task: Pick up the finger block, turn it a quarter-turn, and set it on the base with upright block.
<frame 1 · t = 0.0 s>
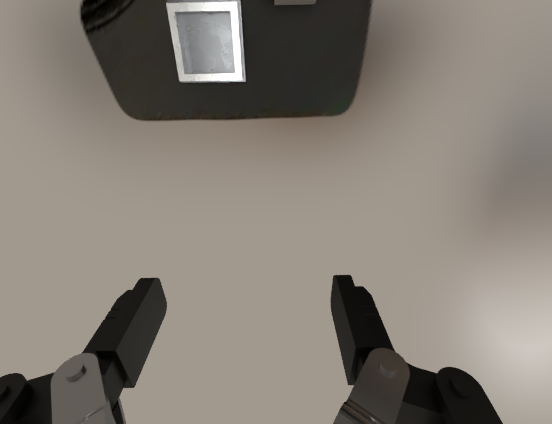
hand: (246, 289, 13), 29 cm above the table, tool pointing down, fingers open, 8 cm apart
base with upright block: (206, 3, 31), on the table
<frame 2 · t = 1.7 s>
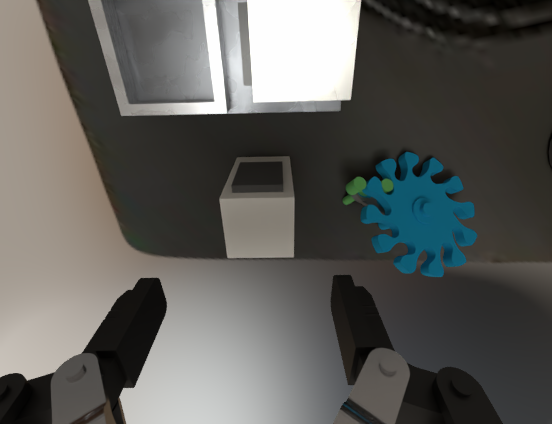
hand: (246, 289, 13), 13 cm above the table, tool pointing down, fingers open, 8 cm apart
finger block: (264, 181, 24), on the table
gear: (394, 189, 25), on the table
base with upright block: (230, 52, 19), on the table
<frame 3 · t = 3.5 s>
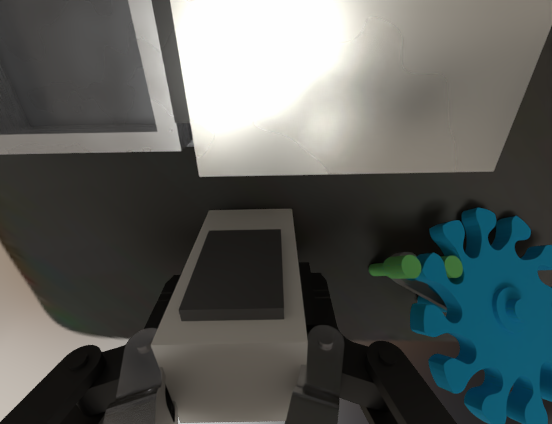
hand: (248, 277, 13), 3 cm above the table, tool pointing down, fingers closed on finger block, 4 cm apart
finger block: (252, 243, 16), on the table, touching gripper
gear: (446, 254, 17), on the table
base with upright block: (188, 41, 11), on the table
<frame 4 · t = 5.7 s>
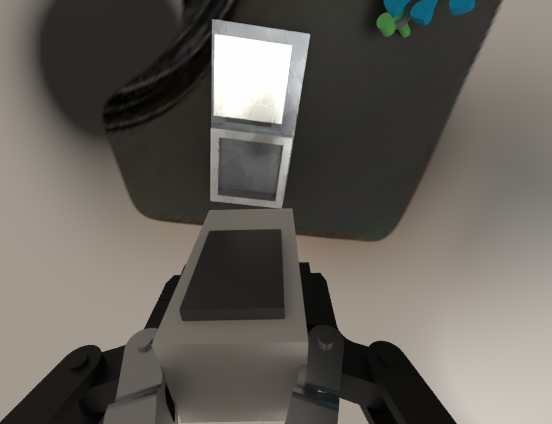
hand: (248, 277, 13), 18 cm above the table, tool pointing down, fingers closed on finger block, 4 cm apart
finger block: (253, 243, 16), point 15 cm above the table, touching gripper
base with upright block: (254, 124, 27), on the table
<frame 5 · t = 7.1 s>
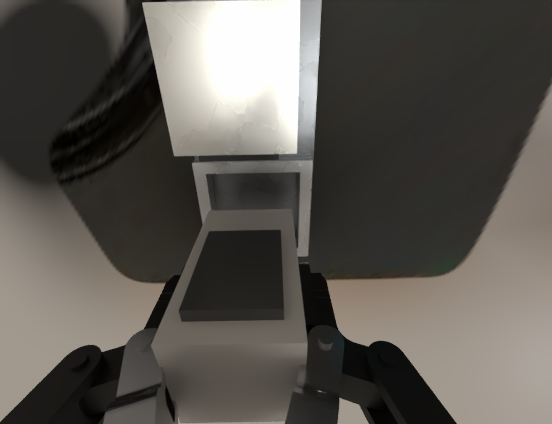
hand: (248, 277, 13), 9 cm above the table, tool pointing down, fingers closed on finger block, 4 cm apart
finger block: (253, 243, 16), point 6 cm above the table, touching gripper
base with upright block: (254, 146, 19), on the table
when the fingers open (5 cm above the table, at t = 8.3 s): finger block stays where it is, resting on base with upright block.
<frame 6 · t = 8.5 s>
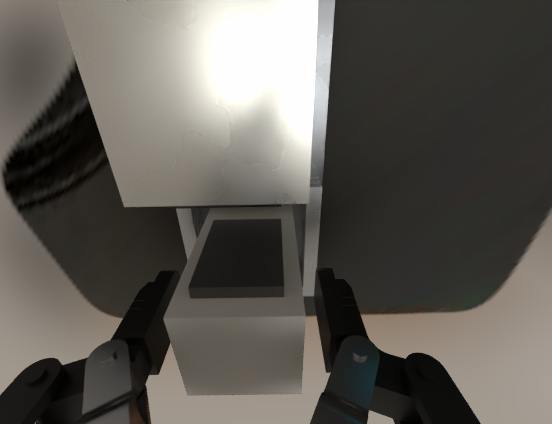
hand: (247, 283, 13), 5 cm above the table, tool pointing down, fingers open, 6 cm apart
finger block: (254, 234, 17), point 1 cm above the table, touching base with upright block
base with upright block: (250, 166, 16), on the table
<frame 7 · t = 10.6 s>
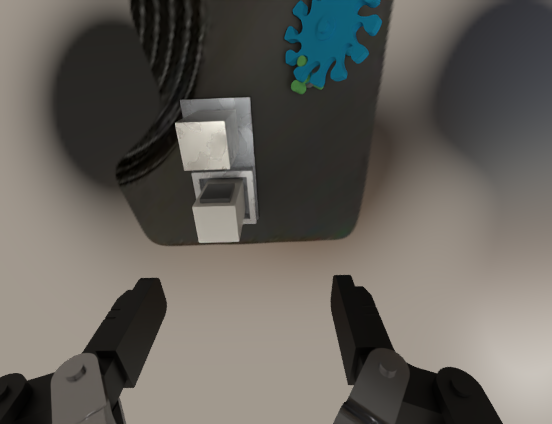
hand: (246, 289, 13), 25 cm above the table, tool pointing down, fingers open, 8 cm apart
finger block: (227, 194, 37), point 1 cm above the table, touching base with upright block
gear: (319, 40, 30), on the table
base with upright block: (224, 163, 36), on the table
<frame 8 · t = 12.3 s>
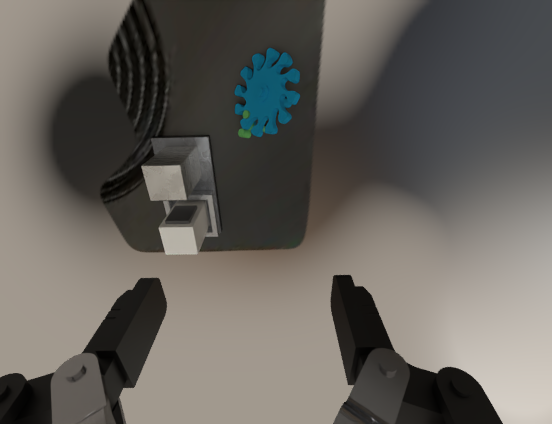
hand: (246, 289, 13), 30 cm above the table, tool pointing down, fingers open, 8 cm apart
finger block: (194, 212, 44), point 1 cm above the table, touching base with upright block
gear: (263, 94, 37), on the table
base with upright block: (191, 187, 43), on the table
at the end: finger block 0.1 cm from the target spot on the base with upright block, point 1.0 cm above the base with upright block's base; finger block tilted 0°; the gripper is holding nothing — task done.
